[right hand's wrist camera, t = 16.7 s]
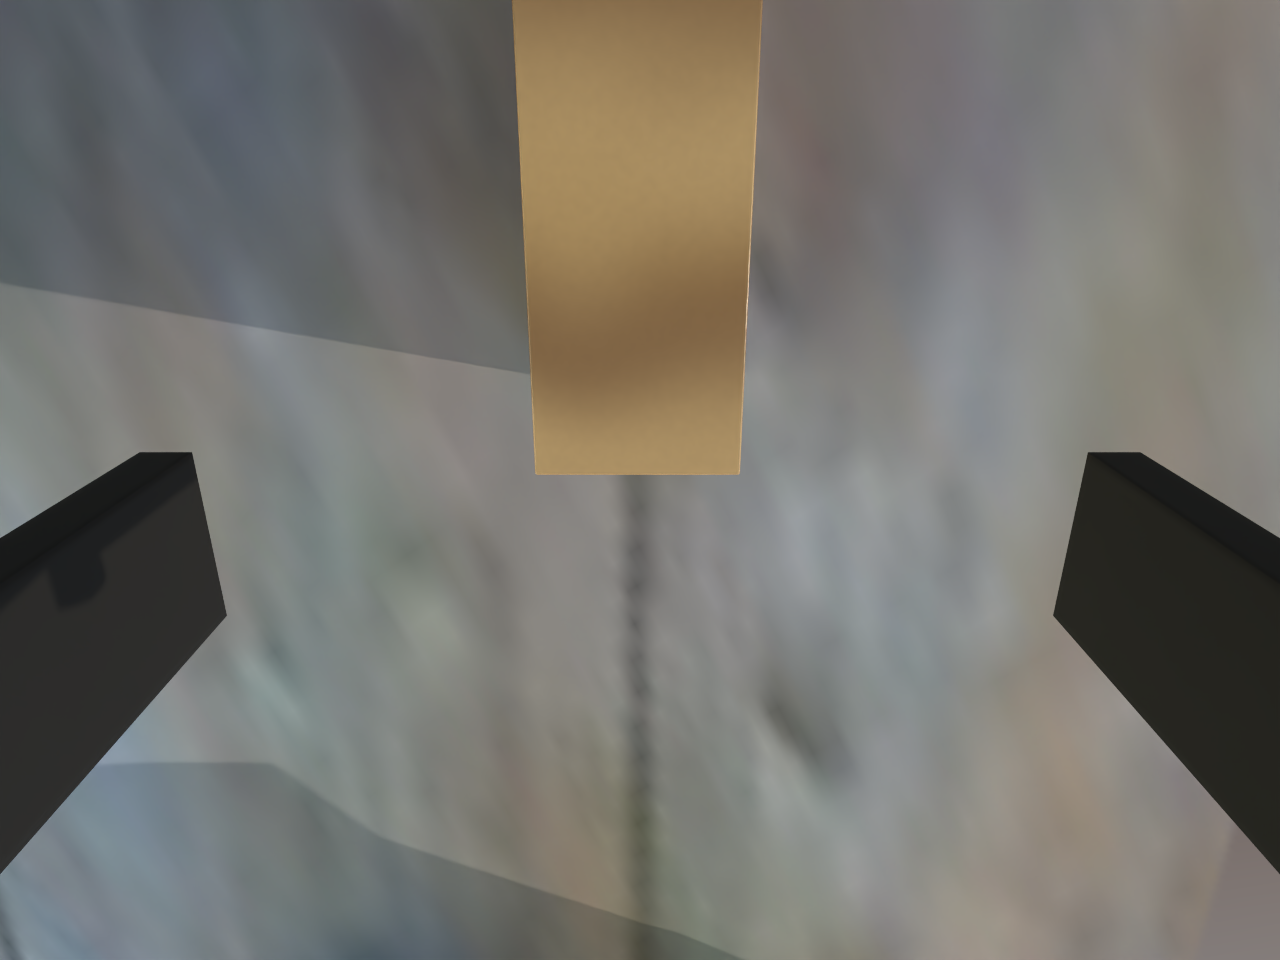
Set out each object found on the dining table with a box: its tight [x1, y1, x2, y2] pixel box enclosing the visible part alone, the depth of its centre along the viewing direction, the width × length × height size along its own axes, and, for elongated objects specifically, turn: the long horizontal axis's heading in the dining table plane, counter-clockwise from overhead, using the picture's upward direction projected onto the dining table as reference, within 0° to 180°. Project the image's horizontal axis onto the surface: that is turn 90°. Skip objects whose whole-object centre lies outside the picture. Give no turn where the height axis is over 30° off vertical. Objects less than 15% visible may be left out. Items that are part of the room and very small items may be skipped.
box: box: [512, 0, 763, 475], centre depth 24 cm, size 25×6×10 cm, turn 0°
